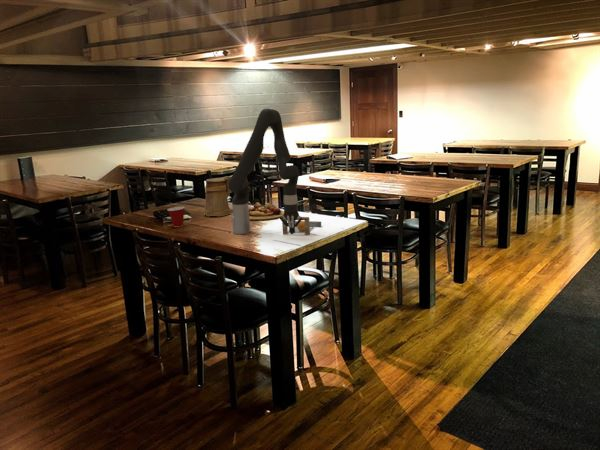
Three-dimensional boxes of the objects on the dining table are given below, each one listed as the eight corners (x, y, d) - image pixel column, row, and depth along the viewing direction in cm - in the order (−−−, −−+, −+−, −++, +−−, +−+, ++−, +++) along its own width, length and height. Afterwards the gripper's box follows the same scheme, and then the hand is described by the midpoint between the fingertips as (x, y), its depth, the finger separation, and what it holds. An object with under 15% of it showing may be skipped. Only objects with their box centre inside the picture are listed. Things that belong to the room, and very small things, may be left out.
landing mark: (286, 232, 285) (286, 232, 285) (293, 227, 297) (293, 227, 297) (308, 233, 281) (308, 233, 281) (314, 227, 293) (314, 227, 293)
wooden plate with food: (241, 224, 314) (240, 211, 312) (234, 213, 344) (234, 202, 342) (290, 220, 321) (290, 207, 319) (280, 210, 351) (279, 198, 349)
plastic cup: (175, 224, 320) (173, 205, 318) (190, 224, 317) (188, 206, 314) (165, 228, 311) (163, 209, 308) (180, 228, 307) (178, 209, 304)
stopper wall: (288, 226, 299) (287, 221, 298) (289, 225, 301) (288, 220, 300) (320, 227, 294) (320, 222, 293) (321, 226, 296) (321, 221, 295)
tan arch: (308, 235, 277) (307, 218, 275) (282, 234, 281) (281, 217, 279) (310, 233, 280) (309, 217, 278) (284, 233, 284) (283, 216, 282)
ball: (298, 233, 287) (295, 227, 282) (298, 225, 291) (296, 219, 286) (308, 233, 286) (305, 226, 281) (308, 224, 289) (306, 218, 285)
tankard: (198, 216, 341) (194, 180, 335) (221, 209, 359) (218, 175, 354) (218, 218, 331) (214, 181, 325) (241, 211, 350) (238, 176, 344)
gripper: (304, 201, 270) (305, 232, 274) (281, 201, 274) (282, 231, 278) (300, 204, 263) (302, 236, 267) (276, 204, 267) (278, 235, 271)
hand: (292, 233), depth 273 cm, fingers closed
